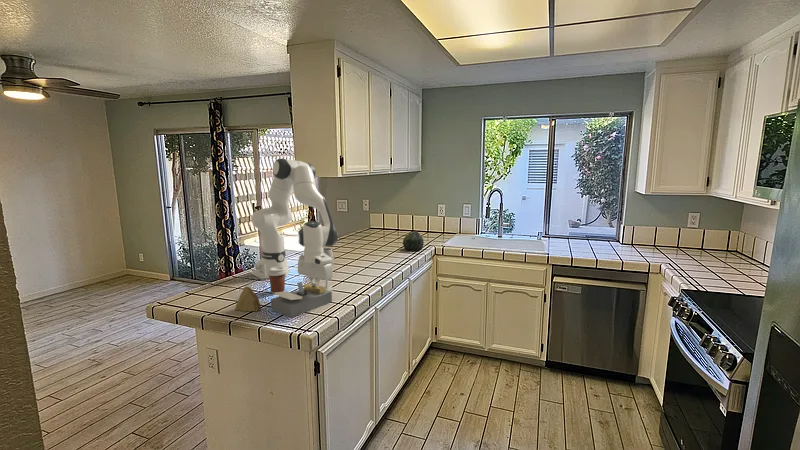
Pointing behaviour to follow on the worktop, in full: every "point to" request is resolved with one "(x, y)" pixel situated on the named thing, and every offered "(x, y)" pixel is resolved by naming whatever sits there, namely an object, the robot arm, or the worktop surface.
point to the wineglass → (329, 252)
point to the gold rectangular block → (315, 288)
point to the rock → (248, 301)
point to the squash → (413, 241)
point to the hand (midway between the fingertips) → (315, 286)
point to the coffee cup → (277, 279)
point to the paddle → (300, 288)
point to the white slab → (288, 295)
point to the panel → (300, 303)
